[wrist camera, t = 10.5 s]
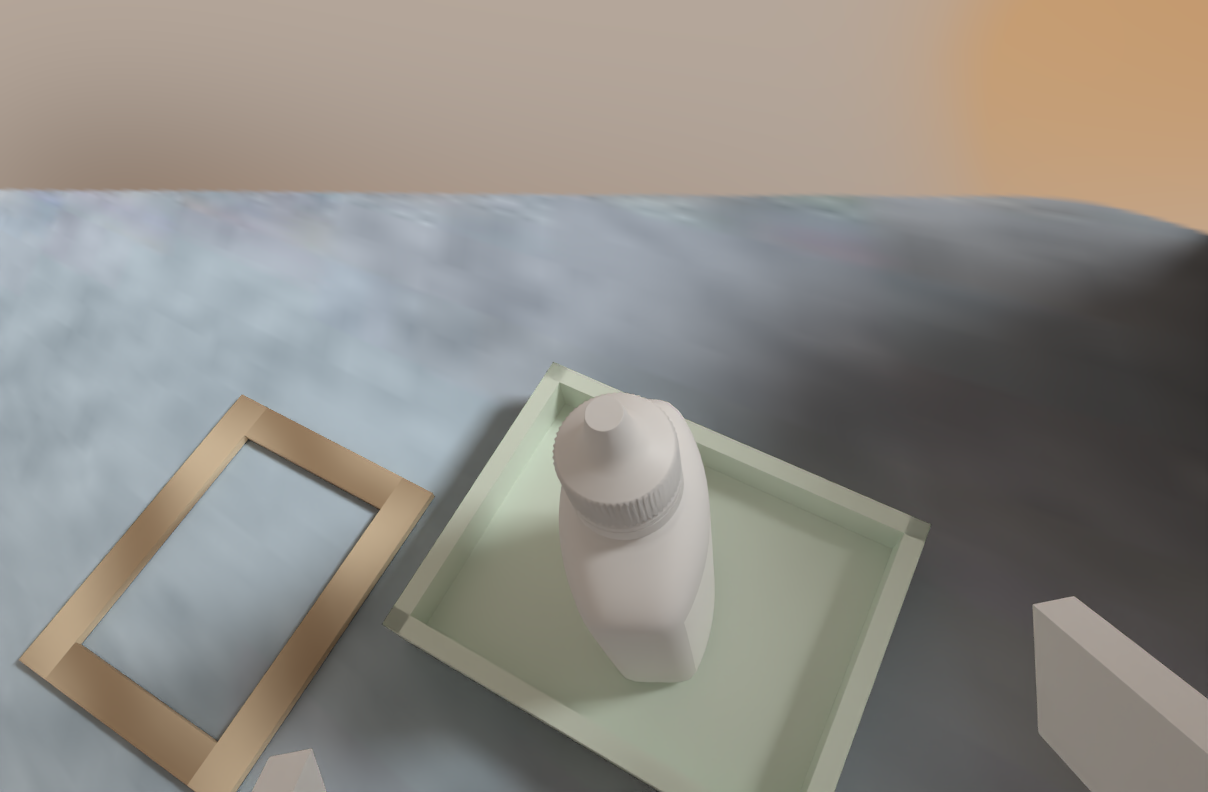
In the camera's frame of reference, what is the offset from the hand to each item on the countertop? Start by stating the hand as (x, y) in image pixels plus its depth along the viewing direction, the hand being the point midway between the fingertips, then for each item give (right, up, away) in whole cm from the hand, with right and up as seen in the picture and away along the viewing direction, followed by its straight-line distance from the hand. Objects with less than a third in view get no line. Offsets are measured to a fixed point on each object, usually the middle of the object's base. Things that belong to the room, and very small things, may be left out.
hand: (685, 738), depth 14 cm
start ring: (-14, 0, +12) cm, 19 cm away
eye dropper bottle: (0, 0, +10) cm, 10 cm away
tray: (0, 0, +11) cm, 11 cm away
